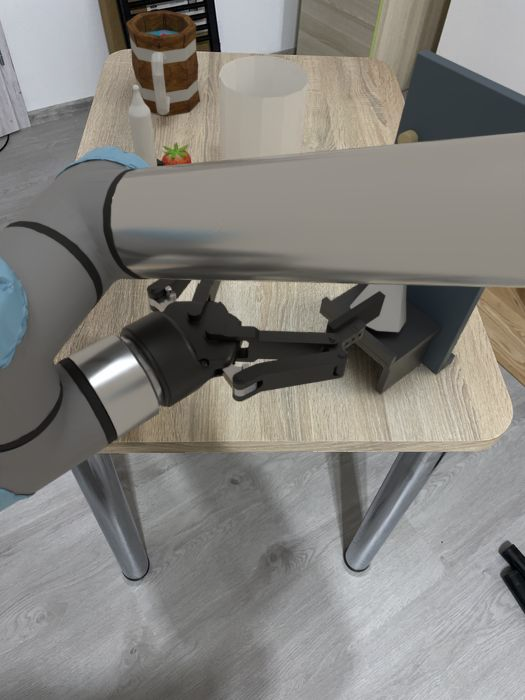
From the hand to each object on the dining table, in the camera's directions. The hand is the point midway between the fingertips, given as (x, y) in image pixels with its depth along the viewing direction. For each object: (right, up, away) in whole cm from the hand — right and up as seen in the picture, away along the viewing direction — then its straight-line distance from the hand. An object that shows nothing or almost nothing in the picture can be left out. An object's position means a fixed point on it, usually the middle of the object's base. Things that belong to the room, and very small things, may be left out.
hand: (328, 262), depth 53 cm
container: (-7, +24, +48) cm, 54 cm away
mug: (-27, +43, +62) cm, 80 cm away
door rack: (+9, -9, +23) cm, 26 cm away
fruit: (-22, +21, +45) cm, 54 cm away
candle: (-24, +10, +36) cm, 44 cm away
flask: (+8, -4, +15) cm, 18 cm away
